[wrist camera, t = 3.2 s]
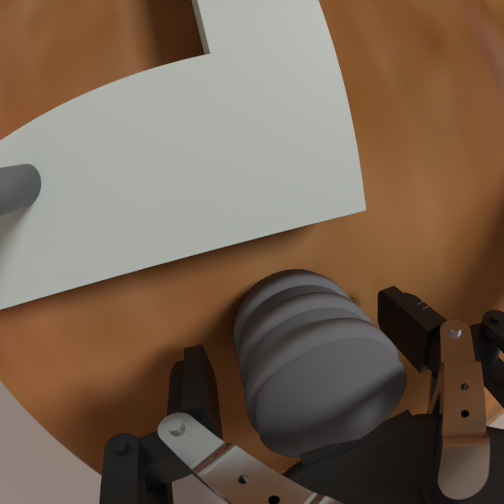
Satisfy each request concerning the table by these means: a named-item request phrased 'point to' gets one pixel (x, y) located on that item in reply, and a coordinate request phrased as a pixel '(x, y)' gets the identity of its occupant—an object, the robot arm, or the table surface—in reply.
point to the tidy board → (182, 155)
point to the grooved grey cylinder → (312, 364)
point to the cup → (193, 492)
